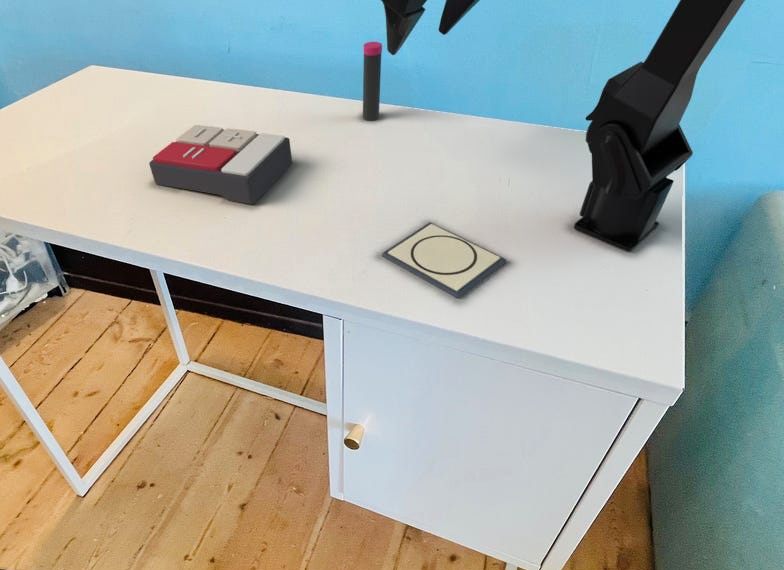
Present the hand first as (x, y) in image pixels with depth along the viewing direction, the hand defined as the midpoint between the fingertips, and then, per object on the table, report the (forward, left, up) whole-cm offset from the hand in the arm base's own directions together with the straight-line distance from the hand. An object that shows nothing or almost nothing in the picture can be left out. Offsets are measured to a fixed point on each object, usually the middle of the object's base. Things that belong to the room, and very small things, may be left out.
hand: (417, 42), depth 69 cm
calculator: (+12, +23, -13) cm, 29 cm away
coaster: (-20, +18, -13) cm, 30 cm away
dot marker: (+9, -2, -13) cm, 16 cm away
